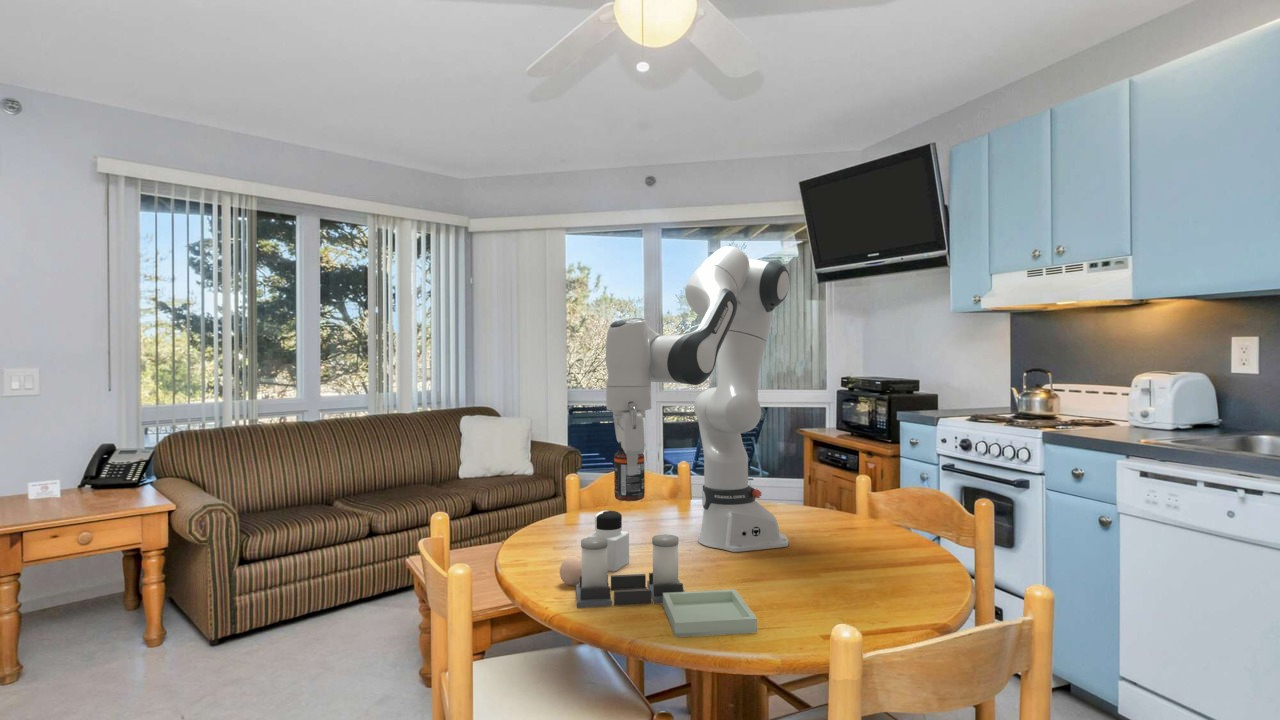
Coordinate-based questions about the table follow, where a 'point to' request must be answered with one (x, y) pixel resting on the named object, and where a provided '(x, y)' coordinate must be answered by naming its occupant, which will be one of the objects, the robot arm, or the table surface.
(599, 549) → the fuse holder
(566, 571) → the egg
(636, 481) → the supplement bottle
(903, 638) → the table surface
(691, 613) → the tray
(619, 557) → the medicine bottle
